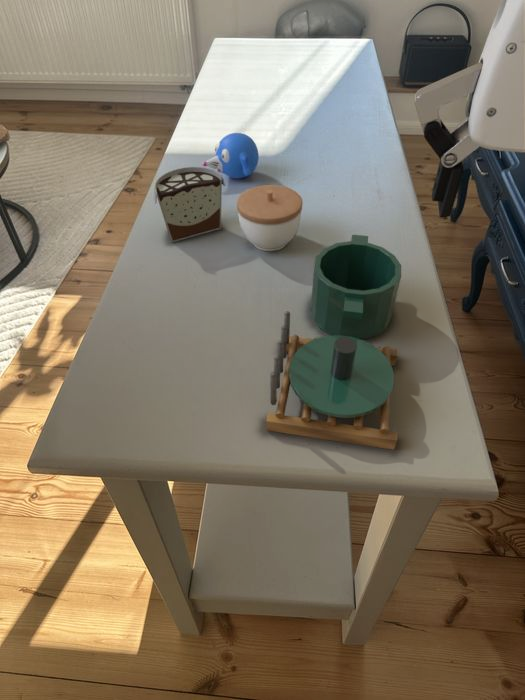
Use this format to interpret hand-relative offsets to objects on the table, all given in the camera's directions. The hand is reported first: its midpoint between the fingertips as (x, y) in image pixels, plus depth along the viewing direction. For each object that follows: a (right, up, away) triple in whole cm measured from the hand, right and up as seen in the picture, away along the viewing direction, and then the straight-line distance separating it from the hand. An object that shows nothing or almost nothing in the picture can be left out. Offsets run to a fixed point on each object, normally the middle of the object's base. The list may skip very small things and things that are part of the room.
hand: (507, 213), depth 37 cm
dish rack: (-10, -16, +24) cm, 30 cm away
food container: (-32, +12, +50) cm, 61 cm away
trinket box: (-18, +8, +47) cm, 51 cm away
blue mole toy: (-26, +25, +63) cm, 72 cm away
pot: (-6, -5, +34) cm, 35 cm away
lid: (-9, -14, +21) cm, 27 cm away
